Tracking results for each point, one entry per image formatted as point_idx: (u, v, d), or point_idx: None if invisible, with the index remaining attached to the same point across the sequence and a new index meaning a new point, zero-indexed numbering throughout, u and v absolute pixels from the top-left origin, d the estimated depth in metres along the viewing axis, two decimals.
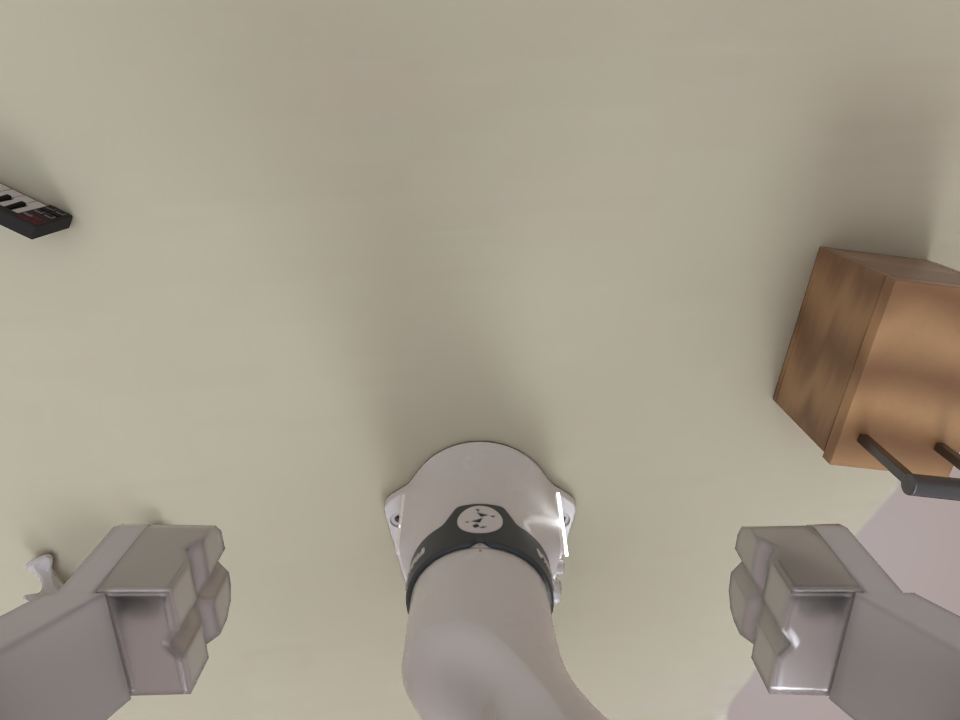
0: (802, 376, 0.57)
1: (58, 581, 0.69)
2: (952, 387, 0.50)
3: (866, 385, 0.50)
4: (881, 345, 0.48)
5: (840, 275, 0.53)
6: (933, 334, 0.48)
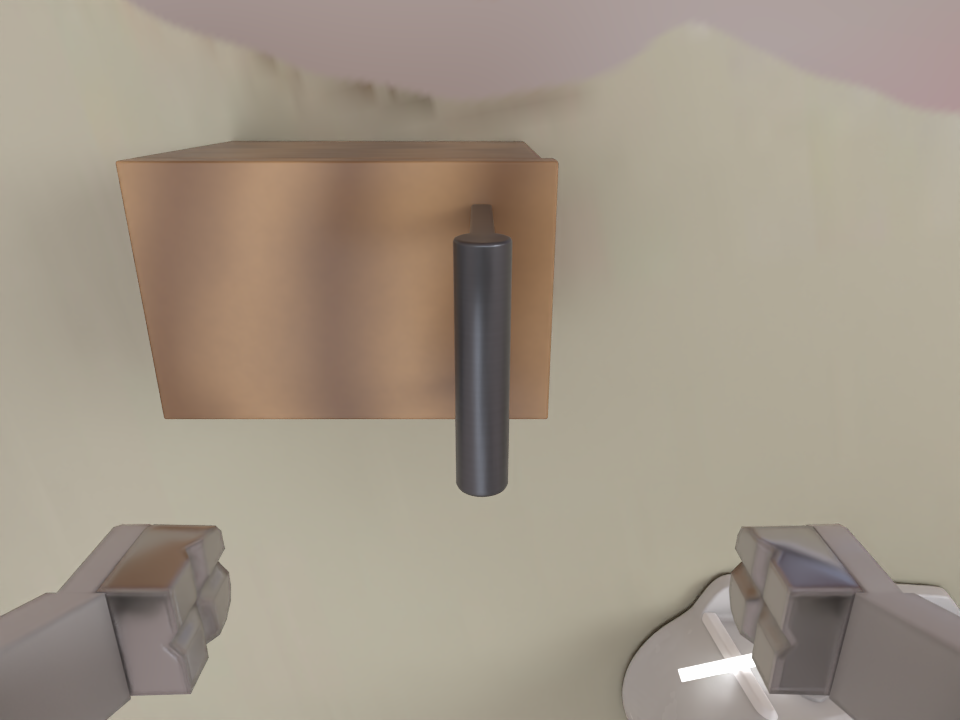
0: None
1: None
2: (341, 239, 0.23)
3: (369, 405, 0.26)
4: (286, 404, 0.26)
5: None
6: (242, 318, 0.24)
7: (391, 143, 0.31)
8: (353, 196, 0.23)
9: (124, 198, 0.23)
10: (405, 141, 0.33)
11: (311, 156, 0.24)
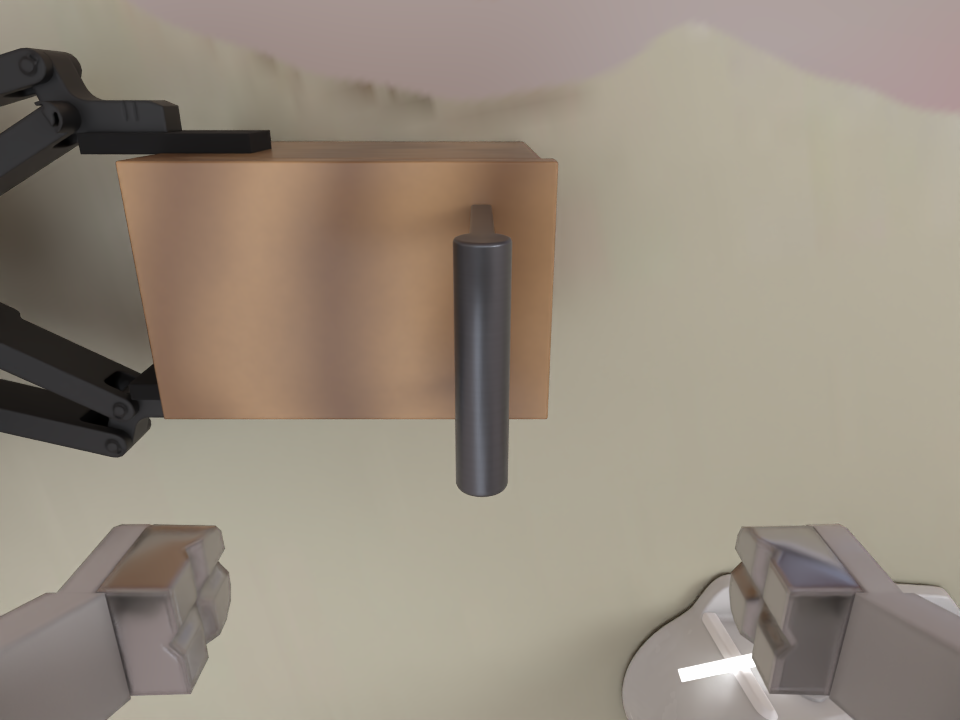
0: None
1: None
2: (341, 239, 0.23)
3: (368, 405, 0.26)
4: (286, 404, 0.26)
5: None
6: (242, 318, 0.24)
7: (391, 143, 0.31)
8: (352, 196, 0.23)
9: (124, 198, 0.23)
10: None
11: (311, 156, 0.24)
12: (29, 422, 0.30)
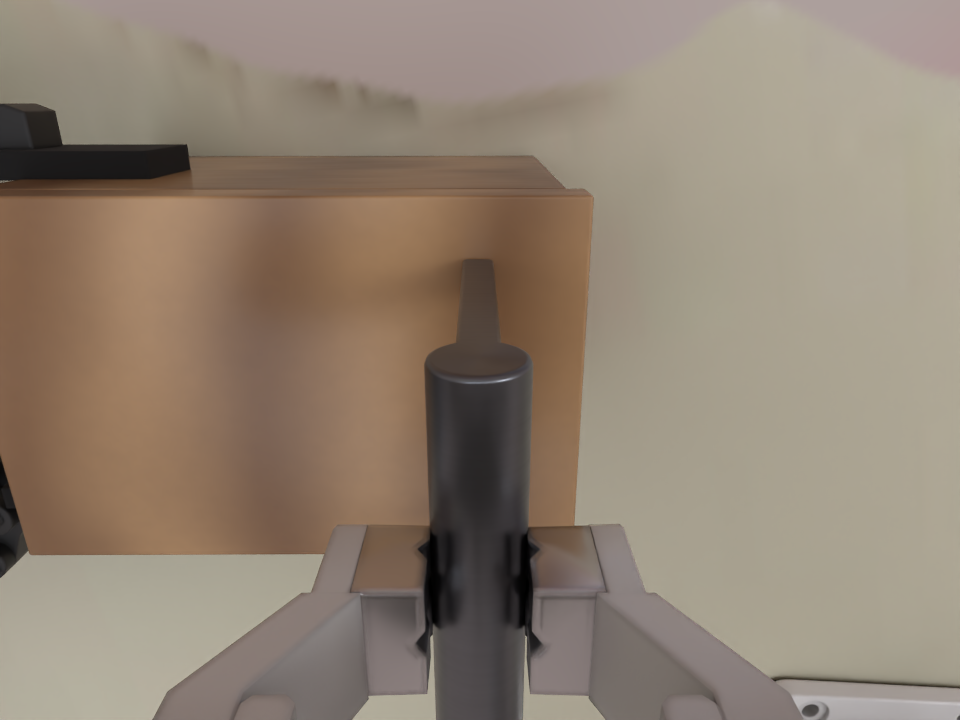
0: None
1: None
2: (270, 310, 0.16)
3: (319, 536, 0.18)
4: (202, 535, 0.18)
5: None
6: (130, 421, 0.17)
7: (359, 159, 0.24)
8: (285, 247, 0.15)
9: None
10: (379, 156, 0.25)
11: (230, 185, 0.17)
12: None
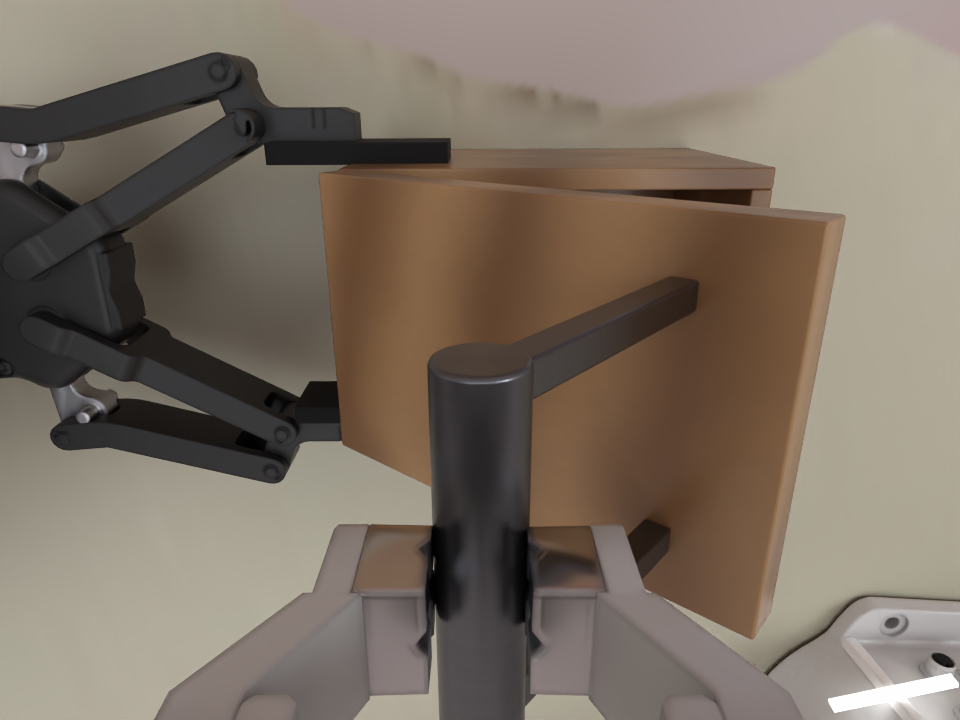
0: None
1: None
2: (501, 294, 0.17)
3: None
4: None
5: None
6: (404, 363, 0.21)
7: (557, 151, 0.30)
8: (518, 240, 0.17)
9: (323, 212, 0.21)
10: None
11: (522, 166, 0.23)
12: (185, 447, 0.28)
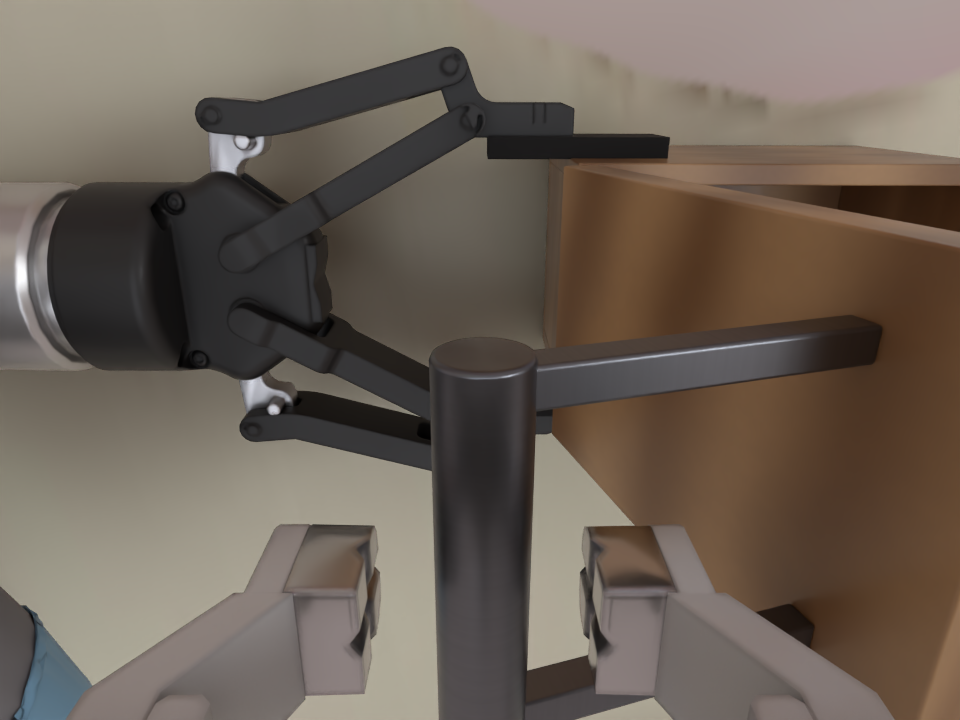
0: None
1: None
2: (687, 308, 0.16)
3: None
4: (614, 484, 0.20)
5: None
6: None
7: (735, 147, 0.30)
8: (708, 250, 0.15)
9: (562, 204, 0.22)
10: None
11: (754, 162, 0.23)
12: (372, 439, 0.28)
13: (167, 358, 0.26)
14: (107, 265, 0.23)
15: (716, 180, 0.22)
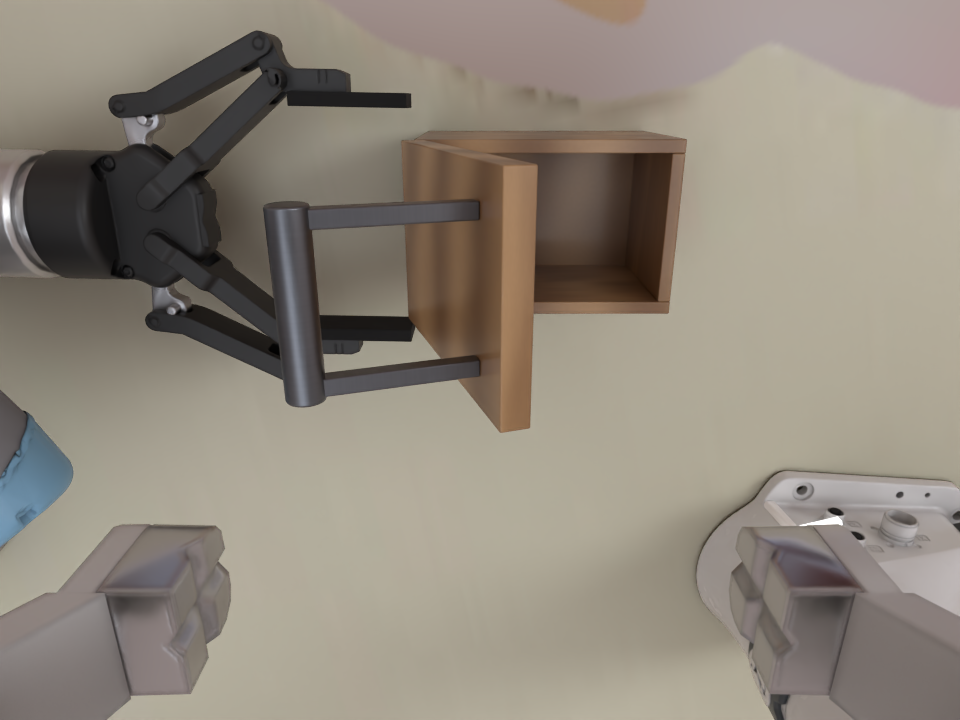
0: None
1: None
2: None
3: (447, 355, 0.31)
4: (429, 333, 0.33)
5: None
6: (421, 260, 0.33)
7: (552, 132, 0.43)
8: (443, 179, 0.28)
9: (402, 165, 0.35)
10: None
11: (529, 138, 0.36)
12: (235, 345, 0.42)
13: (102, 266, 0.39)
14: (61, 201, 0.36)
15: (502, 150, 0.35)
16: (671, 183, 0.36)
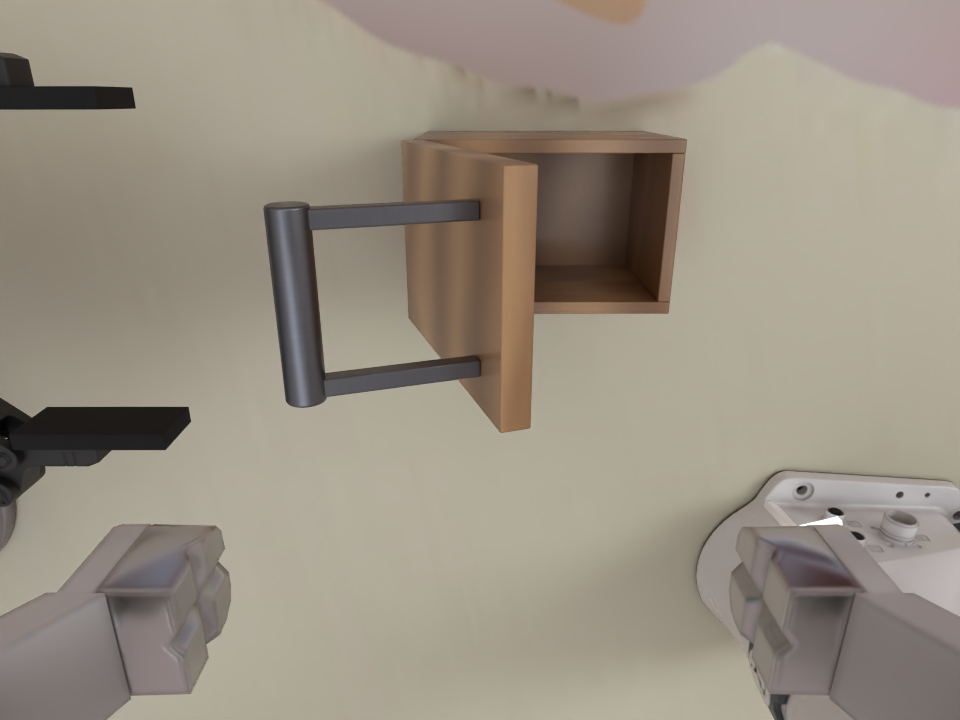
0: None
1: None
2: None
3: (447, 356, 0.31)
4: (430, 333, 0.33)
5: None
6: (421, 260, 0.33)
7: (552, 132, 0.43)
8: (443, 179, 0.28)
9: (402, 165, 0.35)
10: (557, 131, 0.44)
11: (529, 138, 0.36)
12: None
13: None
14: None
15: (502, 150, 0.35)
16: (671, 183, 0.36)
